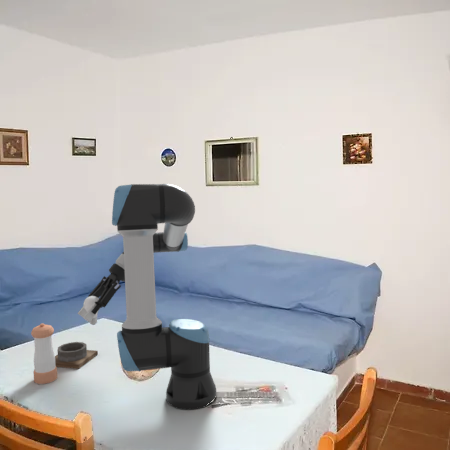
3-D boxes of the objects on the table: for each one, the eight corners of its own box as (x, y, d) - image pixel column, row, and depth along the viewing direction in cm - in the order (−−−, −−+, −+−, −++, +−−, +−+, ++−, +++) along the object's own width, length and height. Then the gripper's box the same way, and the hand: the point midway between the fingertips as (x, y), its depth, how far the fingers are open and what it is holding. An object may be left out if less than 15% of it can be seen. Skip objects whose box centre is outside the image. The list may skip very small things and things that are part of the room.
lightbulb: (85, 323, 173) (83, 294, 172) (102, 321, 175) (100, 293, 173) (84, 328, 167) (82, 299, 166) (102, 326, 169) (100, 297, 167)
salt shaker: (47, 372, 157) (44, 319, 155) (62, 377, 153) (58, 322, 151) (29, 381, 151) (25, 325, 149) (43, 385, 147) (39, 328, 145)
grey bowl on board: (78, 368, 159) (78, 355, 159) (46, 365, 163) (45, 352, 162) (97, 354, 172) (97, 341, 171) (67, 352, 175) (66, 339, 175)
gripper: (139, 278, 169) (99, 330, 162) (120, 270, 185) (83, 316, 178) (124, 266, 166) (83, 318, 159) (106, 259, 182) (68, 306, 175)
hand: (83, 317), depth 168 cm, fingers closed on lightbulb, 6 cm apart
